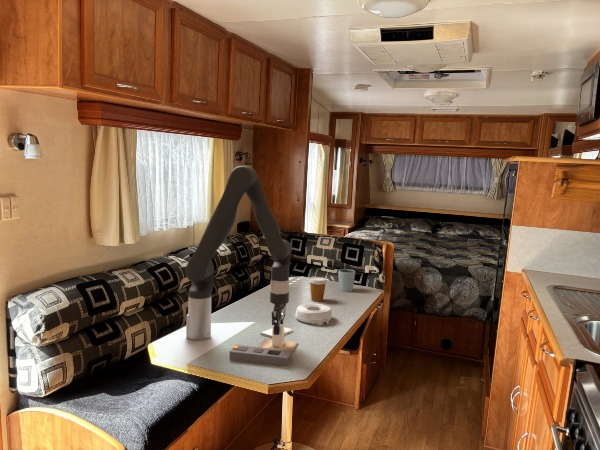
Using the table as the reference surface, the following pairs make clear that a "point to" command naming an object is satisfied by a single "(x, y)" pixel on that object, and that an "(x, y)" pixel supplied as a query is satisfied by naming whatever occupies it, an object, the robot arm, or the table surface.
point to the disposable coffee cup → (317, 288)
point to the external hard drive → (269, 332)
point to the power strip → (261, 355)
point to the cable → (314, 314)
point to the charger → (278, 337)
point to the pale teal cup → (346, 280)
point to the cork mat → (286, 346)
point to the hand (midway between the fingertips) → (278, 331)
